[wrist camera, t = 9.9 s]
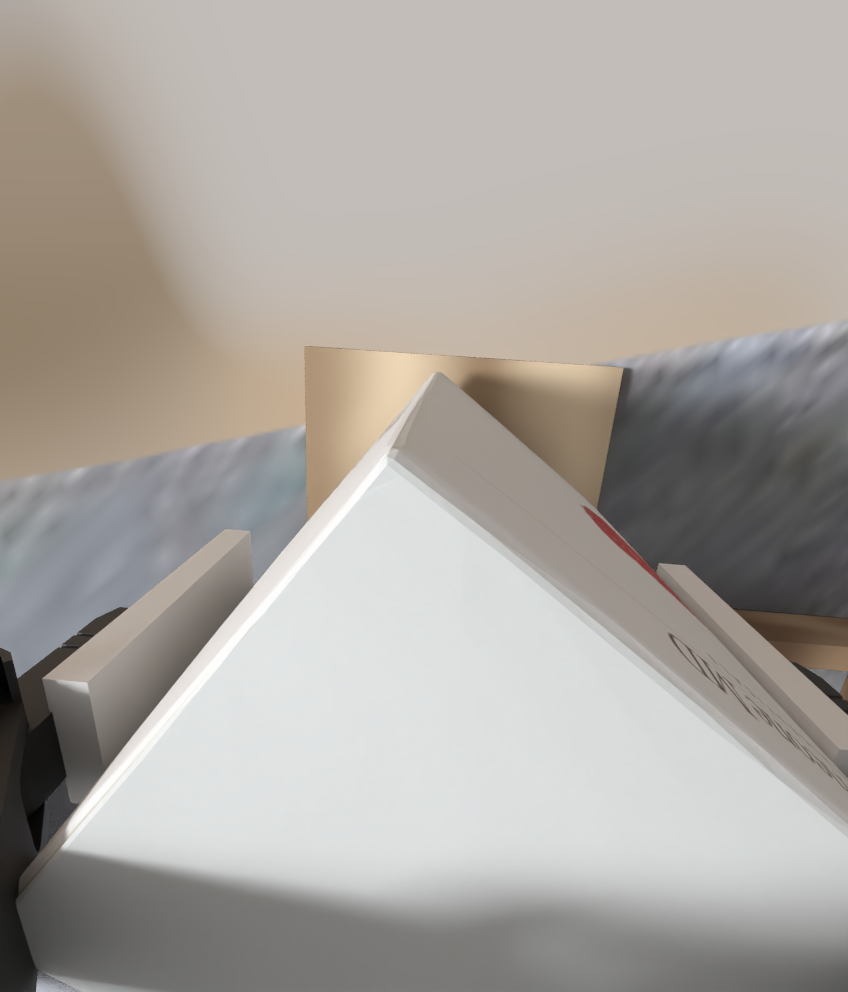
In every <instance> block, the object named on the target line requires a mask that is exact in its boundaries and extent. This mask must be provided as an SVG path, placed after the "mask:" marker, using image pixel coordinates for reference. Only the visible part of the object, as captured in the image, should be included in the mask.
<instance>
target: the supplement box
mask: <svg viewBox="0 0 848 992" xmlns="http://www.w3.org/2000/svg"><path fill="white" fill-rule="evenodd" d="M16 907H17V910H18V914H19V917H20V920H21V923H22V927H23V930H24V933H25V936H26V940H27V943H28V946H29V949H30V953H31V956H32V959H33V962H34V964H35V967H36V969H38V970H40V971H42V972H44V973H46V974H48V975H49V976H51V977H53V978H55V979H57V980H59V981H61V982H63V983H65V984H67V985H69V986H71V987H73V988H74V989H76V990H78V991H80V992H848V778H847V777H846V776H845V775H844V774H843V773H842V772H841V771H840V770H839V769H838V768H837V767H836V765H835V764H834V763H833V762H832V761H831V760H830V759H829V758H828V757H827V756H826V755H825V754H824V753H823V752H822V751H821V749H820V748H819V747H818V746H817V745H816V744H815V743H814V742H813V741H812V740H811V739H810V738H809V737H808V736H807V734H806V733H805V732H804V731H803V730H802V729H801V728H800V727H799V726H798V725H797V724H796V723H795V722H794V721H793V719H792V718H791V717H790V716H789V715H788V714H787V713H786V712H785V711H784V710H783V709H782V708H781V707H780V705H779V704H778V703H777V702H776V701H775V700H774V699H773V698H772V697H771V696H770V695H769V694H768V693H767V691H766V690H765V689H764V688H763V687H762V686H761V685H760V684H759V683H758V682H757V681H756V680H755V679H754V677H753V676H752V675H751V674H750V673H749V672H748V671H747V670H746V669H745V668H744V667H743V666H742V664H741V663H740V662H739V661H738V660H737V659H736V658H735V657H734V656H733V655H732V654H731V653H730V652H729V651H728V649H727V648H726V647H725V646H724V645H723V644H722V643H721V642H720V641H719V640H718V639H717V638H716V637H715V636H714V634H713V633H712V632H711V631H710V630H709V629H708V628H707V627H706V626H705V625H704V624H703V623H702V622H701V621H700V619H699V618H698V617H697V616H696V615H695V614H694V613H693V612H692V611H691V610H690V609H689V608H688V607H687V606H686V605H685V603H684V602H683V601H682V600H681V599H680V598H679V597H678V596H677V595H676V594H675V593H674V592H673V591H672V590H671V588H670V587H669V586H668V585H667V584H666V583H665V582H664V581H663V580H662V579H661V578H660V577H659V576H658V575H657V574H656V572H655V571H654V570H653V569H652V568H651V567H650V566H649V565H648V564H647V563H646V562H645V561H644V560H643V559H642V557H641V556H640V555H639V554H638V553H637V552H636V551H635V550H634V549H633V548H632V547H631V546H630V545H629V544H628V543H627V541H626V540H625V539H624V538H623V537H622V536H621V535H620V534H619V533H618V532H617V531H616V530H615V529H614V528H613V526H612V525H611V524H610V523H609V522H608V521H607V520H606V519H605V518H604V517H603V516H602V515H601V514H600V512H599V511H598V510H597V509H596V508H595V507H594V506H593V505H592V504H591V503H590V502H589V501H588V500H587V499H586V498H585V497H583V496H582V495H581V494H580V493H579V492H578V491H577V490H576V489H575V488H573V487H572V486H571V485H570V484H569V483H568V482H567V481H566V480H565V479H563V478H562V477H561V476H560V475H559V474H558V473H557V472H556V471H554V470H553V469H552V468H551V467H550V466H549V465H548V464H546V463H545V462H544V461H543V460H542V459H541V458H540V457H538V456H537V455H536V454H535V453H534V452H533V451H532V450H530V449H529V448H528V447H527V446H526V445H525V444H524V443H522V442H521V441H520V440H519V439H518V438H517V437H516V436H514V435H513V434H512V433H511V432H510V431H509V430H508V429H506V428H505V427H504V426H503V425H502V424H501V423H500V422H498V421H497V420H496V419H495V418H494V417H493V416H492V415H490V414H489V413H488V412H487V411H486V410H485V409H483V408H482V407H481V406H480V405H479V404H478V403H477V402H475V401H474V400H473V399H472V398H471V397H470V396H468V395H467V394H466V393H465V392H464V391H463V390H462V389H460V388H459V387H458V386H457V385H456V384H455V383H453V382H452V381H451V380H450V379H449V378H448V377H446V376H445V375H444V374H443V373H441V372H435V373H433V374H432V375H431V376H430V377H429V378H428V380H427V381H426V382H425V383H424V384H423V385H422V387H421V388H420V389H419V390H418V391H417V393H416V394H415V395H414V396H413V398H412V399H411V400H410V401H409V402H408V404H407V405H406V406H405V407H404V409H403V410H402V411H401V412H400V413H399V415H398V416H397V417H396V418H395V419H394V420H393V422H392V423H391V424H390V425H389V426H388V427H387V429H386V430H385V431H384V432H383V433H382V434H381V436H380V437H379V438H378V439H377V440H376V441H375V443H374V444H373V445H372V446H371V447H370V448H369V450H368V451H367V452H366V453H365V454H364V455H363V457H362V458H361V459H360V460H359V461H358V463H357V464H356V465H355V466H354V467H353V468H352V470H351V471H350V472H349V473H348V474H347V476H346V477H345V478H344V479H343V480H342V482H341V483H340V484H339V485H338V486H337V487H336V489H335V490H334V491H333V492H332V493H331V495H329V496H328V498H327V499H326V500H325V501H324V503H323V504H322V505H321V506H320V508H319V509H318V510H317V511H316V512H315V514H314V515H313V516H312V517H311V518H310V520H309V521H308V522H307V523H306V524H305V525H304V527H303V528H302V529H301V530H300V531H299V533H298V534H297V535H296V536H295V538H294V539H293V540H292V541H291V542H290V543H289V544H288V546H287V547H286V548H285V549H284V550H283V551H282V553H281V554H280V555H279V556H278V557H277V559H276V560H275V561H274V562H273V564H272V565H271V566H270V567H269V568H268V570H267V571H266V572H265V573H264V575H263V576H262V577H261V578H260V579H259V581H258V582H257V583H256V584H255V585H254V587H253V588H252V589H251V590H250V592H249V593H248V594H247V595H246V596H245V598H244V599H243V600H242V601H241V602H240V604H239V605H238V606H237V607H236V609H235V610H234V611H233V612H232V613H231V615H230V616H229V617H228V618H227V619H226V621H225V622H224V623H223V624H222V625H221V627H220V628H219V629H218V630H217V632H216V633H215V634H214V635H213V637H212V638H211V639H210V640H209V642H208V643H207V644H206V645H205V647H204V648H203V649H202V650H201V651H200V653H199V654H198V655H197V656H196V658H195V659H194V660H193V661H192V663H191V664H190V665H189V666H188V668H187V669H186V670H185V671H184V673H183V674H182V675H181V676H180V678H179V679H178V680H177V681H176V683H175V684H174V685H173V686H172V688H171V689H170V690H169V691H168V693H167V694H166V695H165V696H164V698H163V699H162V700H161V701H160V703H159V704H158V705H157V706H156V707H155V709H154V710H153V711H152V712H151V714H150V715H149V716H148V717H147V719H146V720H145V721H144V722H143V724H142V725H141V726H140V727H139V729H138V730H137V731H136V732H135V734H134V735H133V736H132V737H131V739H130V740H129V741H128V742H127V744H126V745H125V746H124V747H123V749H122V750H121V751H120V752H119V754H118V755H117V756H116V758H115V759H114V760H113V761H112V763H111V764H110V765H109V766H108V768H107V769H106V770H105V771H104V773H103V774H102V775H101V776H100V778H99V779H98V780H97V781H96V783H95V784H94V785H93V786H92V788H91V789H90V790H89V792H88V793H87V794H86V795H85V797H84V798H83V799H82V800H81V802H80V803H79V804H78V805H77V807H76V808H75V809H74V810H73V812H72V813H71V814H70V815H69V817H68V818H67V819H66V821H65V822H64V823H63V824H62V826H61V827H60V828H59V829H58V831H57V832H56V833H55V834H54V836H53V837H52V838H51V839H50V841H49V842H48V843H47V844H46V846H45V847H44V848H43V849H42V851H41V852H40V853H39V854H38V855H37V857H36V858H35V859H34V860H33V861H32V863H31V864H30V865H29V866H28V867H27V869H26V870H25V871H24V873H23V874H22V876H21V877H20V880H19V890H18V897H17V899H16Z"/></svg>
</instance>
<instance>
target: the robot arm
mask: <svg viewBox="0 0 848 992" xmlns="http://www.w3.org/2000/svg"><path fill="white" fill-rule="evenodd" d="M656 574H657V575H658V576H659V577H660V578H661V579H662V580H663V581H664V582H665V583H666V584H667V585H668V586H669V587H670V588H671V590H672V591H673V592H674V593H675V594H676V595H677V596H678V597H679V598H680V599H681V600H682V601H683V602H684V603H685V605H686V606H687V607H688V608H689V609H690V610H691V611H692V612H693V613H694V614H695V615H696V616H697V617H698V618H699V619H700V621H701V622H702V623H703V624H704V625H705V626H706V627H707V628H708V629H709V630H710V631H711V632H712V633H713V634H714V636H715V637H716V638H717V639H718V640H719V641H720V642H721V643H722V644H723V645H724V646H725V647H726V648H727V649H728V651H729V652H730V653H731V654H732V655H733V656H734V657H735V658H736V659H737V660H738V661H739V662H740V663H741V664H742V666H743V667H744V668H745V669H746V670H747V671H748V672H749V673H750V674H751V675H752V676H753V677H754V679H755V680H756V681H757V682H758V683H759V684H760V685H761V686H762V687H763V688H764V689H765V690H766V691H767V693H768V694H769V695H770V696H771V697H772V698H773V699H774V700H775V701H776V702H777V703H778V704H779V705H780V707H781V708H782V709H783V710H784V711H785V712H786V713H787V714H788V715H789V716H790V717H791V718H792V719H793V721H794V722H795V723H796V724H797V725H798V726H799V727H800V728H801V729H802V730H803V731H804V732H805V733H806V734H807V736H808V737H809V738H810V739H811V740H812V741H813V742H814V743H815V744H816V745H817V746H818V747H819V748H820V749H821V751H822V752H823V753H824V754H825V755H826V756H827V757H828V758H829V759H830V760H831V761H832V762H833V763H834V764H835V765H836V767H837V768H838V769H839V770H840V771H841V772H842V773H843V774H844V775H845V776H846V777H847V778H848V701H847V700H843V698H842V697H843V696H841V695H840V694H839V693H838V692H837V691H836V690H835V689H834V688H832V687H831V686H830V685H829V684H828V683H827V682H826V681H825V680H823V679H822V678H821V677H819V676H817V675H816V674H814V673H812V672H811V671H809V670H808V669H806V668H804V667H803V666H801V665H799V664H798V663H796V662H789V661H788V660H787V659H786V658H785V657H784V656H783V655H782V654H781V653H780V652H779V651H777V650H776V649H775V648H774V647H773V646H772V645H771V644H770V643H769V642H768V641H767V640H766V639H764V638H763V637H762V636H761V635H760V634H759V633H758V632H757V631H756V630H755V629H754V628H753V627H751V626H750V625H749V624H748V623H747V622H746V621H745V620H744V619H743V618H742V617H741V616H740V615H738V614H737V613H736V612H735V611H734V610H733V609H732V608H731V607H730V606H729V605H728V604H727V603H725V602H724V601H723V600H722V599H721V598H720V597H719V596H718V595H717V594H716V593H715V592H714V591H712V590H711V589H710V588H709V587H708V586H707V585H706V584H705V583H704V582H703V581H702V580H701V579H699V578H698V577H697V576H696V575H695V574H694V573H693V572H692V571H691V570H690V569H689V568H688V567H686V566H685V565H675V564H663V563H659V564H658V568H657V572H656ZM252 588H253V572H252V554H251V536H250V531H242V530H229V529H225V530H224V531H222V532H221V533H220V534H219V535H217V536H216V537H215V538H214V539H213V540H211V541H210V542H209V543H208V544H206V545H205V546H204V547H203V548H202V549H200V550H199V551H198V552H197V553H195V554H194V555H193V556H192V557H190V558H189V559H188V560H187V561H186V562H184V563H183V564H182V565H181V566H179V567H178V568H177V569H176V570H175V571H173V572H172V573H171V574H170V575H168V576H167V577H166V578H165V579H164V580H162V581H161V582H160V583H159V584H157V585H156V586H155V587H154V588H153V589H151V590H150V591H149V592H148V593H146V594H145V595H144V596H143V597H141V598H140V599H139V600H138V601H137V602H135V603H134V604H133V605H132V606H130V607H129V608H123V607H119V608H117V609H115V610H113V611H111V612H109V613H107V614H104V615H102V616H100V617H98V618H96V619H95V620H93V621H92V622H91V623H89V624H88V625H87V626H85V627H84V628H83V629H82V630H80V631H79V632H78V633H77V636H72V637H71V638H70V639H69V640H67V641H66V642H65V643H63V644H62V647H61V648H57V649H56V650H54V651H53V652H52V653H50V654H49V655H48V656H46V657H45V658H44V659H43V660H41V661H40V662H39V663H37V664H36V665H35V666H33V667H32V668H31V669H30V670H28V671H27V672H26V673H24V674H23V675H22V676H21V677H19V678H18V679H17V676H16V672H15V668H14V664H13V660H12V656H11V652H8V651H6V650H4V649H2V648H0V992H36V982H37V970H38V969H36V967H35V964H34V962H33V959H32V956H31V953H30V949H29V946H28V943H27V940H26V936H25V933H24V930H23V927H22V923H21V920H20V917H19V914H18V910H17V907H16V899H17V897H18V890H19V880H20V877H21V876H22V874H23V873H24V871H25V870H26V869H27V867H28V866H29V865H30V864H31V863H32V861H33V860H34V859H35V858H36V857H37V855H38V854H39V853H40V852H41V851H42V849H43V848H44V847H45V846H46V844H47V843H48V840H49V828H50V816H51V812H50V808H49V804H48V800H47V798H48V797H49V796H50V795H51V794H52V792H53V791H54V790H55V789H56V788H57V787H58V786H59V785H60V783H61V782H62V781H63V780H64V779H65V781H66V785H67V789H68V794H69V798H70V802H71V803H78V804H79V803H80V802H81V800H82V799H83V798H84V797H85V795H86V794H87V793H88V792H89V790H90V789H91V788H92V786H93V785H94V784H95V783H96V781H97V780H98V779H99V778H100V776H101V775H102V774H103V773H104V771H105V770H106V769H107V768H108V766H109V765H110V764H111V763H112V761H113V760H114V759H115V758H116V756H117V755H118V754H119V752H120V751H121V750H122V749H123V747H124V746H125V745H126V744H127V742H128V741H129V740H130V739H131V737H132V736H133V735H134V734H135V732H136V731H137V730H138V729H139V727H140V726H141V725H142V724H143V722H144V721H145V720H146V719H147V717H148V716H149V715H150V714H151V712H152V711H153V710H154V709H155V707H156V706H157V705H158V704H159V703H160V701H161V700H162V699H163V698H164V696H165V695H166V694H167V693H168V691H169V690H170V689H171V688H172V686H173V685H174V684H175V683H176V681H177V680H178V679H179V678H180V676H181V675H182V674H183V673H184V671H185V670H186V669H187V668H188V666H189V665H190V664H191V663H192V661H193V660H194V659H195V658H196V656H197V655H198V654H199V653H200V651H201V650H202V649H203V648H204V647H205V645H206V644H207V643H208V642H209V640H210V639H211V638H212V637H213V635H214V634H215V633H216V632H217V630H218V629H219V628H220V627H221V625H222V624H223V623H224V622H225V621H226V619H227V618H228V617H229V616H230V615H231V613H232V612H233V611H234V610H235V609H236V607H237V606H238V605H239V604H240V602H241V601H242V600H243V599H244V598H245V596H246V595H247V594H248V593H249V592H250V590H251V589H252Z"/></svg>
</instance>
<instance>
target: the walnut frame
mask: <svg viewBox="0 0 848 992" xmlns="http://www.w3.org/2000/svg"><path fill="white" fill-rule="evenodd" d="M733 610H734V611H735V612H736V613H737V614H738V615H740V616H741V617H742V618H743V619H744V620H745V621H746V622H747V623H748V624H749V625H750V626H751V627H753V628H754V629H755V630H756V631H757V632H758V633H759V634H760V635H761V636H762V637H763V638H764V639H766V640H767V641H768V642H769V643H770V644H771V645H772V646H773V647H774V648H775V649H776V650H777V651H779V652H780V653H781V654H782V655H783V656H784V657H785V658H786V659H787V660H788V661H789V662H796V663H798V664H799V665H801V666H803V667H804V668H814V669H826V670H838V671H848V619H846V618H833V617H821V616H809V615H797V614H784V613H772V612H760V611H748V610H735V609H733ZM840 695H841V696H843V697H842V698H843V700H847V701H848V676H847V678H846V681H845V683H844V685H843V688H842V690H841V693H840Z"/></svg>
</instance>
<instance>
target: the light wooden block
mask: <svg viewBox="0 0 848 992" xmlns="http://www.w3.org/2000/svg"><path fill="white" fill-rule="evenodd" d="M623 369H624V368H623V367H611V366H596V365H581V364H565V363H551V362H536V361H520V360H505V359H491V358H476V357H461V356H445V355H432V354H417V353H416V354H415V353H402V352H401V353H400V352H387V351H371V350H355V349H342V348H327V347H326V348H325V347H312V346H305V399H306V400H305V405H306V469H307V522H308V521H309V520H310V518H311V517H312V516H313V515H314V514H315V512H316V511H317V510H318V509H319V508H320V506H321V505H322V504H323V503H324V501H325V500H326V499H327V498H328V496H329V495H331V493H332V492H333V491H334V490H335V489H336V487H337V486H338V485H339V484H340V483H341V482H342V480H343V479H344V478H345V477H346V476H347V474H348V473H349V472H350V471H351V470H352V468H353V467H354V466H355V465H356V464H357V463H358V461H359V460H360V459H361V458H362V457H363V455H364V454H365V453H366V452H367V451H368V450H369V448H370V447H371V446H372V445H373V444H374V443H375V441H376V440H377V439H378V438H379V437H380V436H381V434H382V433H383V432H384V431H385V430H386V429H387V427H388V426H389V425H390V424H391V423H392V422H393V420H394V419H395V418H396V417H397V416H398V415H399V413H400V412H401V411H402V410H403V409H404V407H405V406H406V405H407V404H408V402H409V401H410V400H411V399H412V398H413V396H414V395H415V394H416V393H417V391H418V390H419V389H420V388H421V387H422V385H423V384H424V383H425V382H426V381H427V380H428V378H429V377H430V376H431V375H432V374H433V373H435V372H441V373H443V374H444V375H445V376H446V377H448V378H449V379H450V380H451V381H452V382H453V383H455V384H456V385H457V386H458V387H459V388H460V389H462V390H463V391H464V392H465V393H466V394H467V395H468V396H470V397H471V398H472V399H473V400H474V401H475V402H477V403H478V404H479V405H480V406H481V407H482V408H483V409H485V410H486V411H487V412H488V413H489V414H490V415H492V416H493V417H494V418H495V419H496V420H497V421H498V422H500V423H501V424H502V425H503V426H504V427H505V428H506V429H508V430H509V431H510V432H511V433H512V434H513V435H514V436H516V437H517V438H518V439H519V440H520V441H521V442H522V443H524V444H525V445H526V446H527V447H528V448H529V449H530V450H532V451H533V452H534V453H535V454H536V455H537V456H538V457H540V458H541V459H542V460H543V461H544V462H545V463H546V464H548V465H549V466H550V467H551V468H552V469H553V470H554V471H556V472H557V473H558V474H559V475H560V476H561V477H562V478H563V479H565V480H566V481H567V482H568V483H569V484H570V485H571V486H572V487H573V488H575V489H576V490H577V491H578V492H579V493H580V494H581V495H582V496H583V497H585V498H586V499H587V500H588V501H589V502H590V503H591V504H592V505H593V506H594V507H595V508H596V509H597V506H598V501H599V495H600V490H601V485H602V480H603V474H604V469H605V464H606V458H607V453H608V448H609V443H610V437H611V432H612V427H613V421H614V416H615V411H616V406H617V400H618V395H619V390H620V385H621V379H622V374H623Z"/></svg>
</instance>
